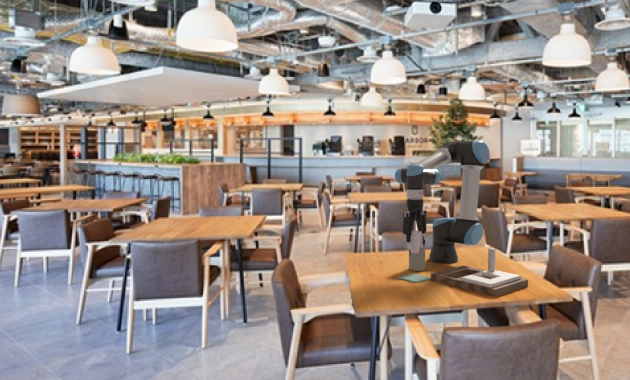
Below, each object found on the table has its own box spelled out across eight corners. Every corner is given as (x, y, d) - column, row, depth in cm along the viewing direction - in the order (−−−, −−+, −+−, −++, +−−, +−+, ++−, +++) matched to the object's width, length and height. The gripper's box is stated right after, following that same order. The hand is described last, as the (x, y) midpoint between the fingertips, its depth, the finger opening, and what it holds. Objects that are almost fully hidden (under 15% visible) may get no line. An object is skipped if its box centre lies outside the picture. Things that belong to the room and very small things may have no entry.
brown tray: (430, 279, 214) (430, 273, 214) (463, 271, 228) (463, 265, 228) (495, 296, 187) (495, 289, 187) (527, 286, 202) (528, 279, 202)
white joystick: (462, 280, 200) (462, 254, 200) (491, 272, 213) (492, 247, 213) (491, 287, 189) (491, 260, 188) (520, 278, 202) (521, 252, 201)
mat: (397, 278, 218) (397, 276, 217) (413, 274, 224) (413, 273, 224) (415, 283, 209) (415, 281, 209) (431, 279, 215) (431, 277, 215)
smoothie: (419, 250, 219) (420, 221, 218) (423, 253, 212) (423, 223, 211) (406, 250, 218) (406, 221, 217) (409, 253, 212) (409, 223, 211)
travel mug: (425, 268, 236) (425, 233, 235) (424, 271, 229) (425, 235, 227) (409, 267, 238) (409, 232, 237) (408, 271, 231) (408, 235, 229)
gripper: (406, 200, 205) (406, 252, 207) (435, 197, 216) (434, 246, 218) (394, 199, 211) (394, 249, 213) (422, 196, 222) (422, 244, 224)
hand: (414, 248), depth 215 cm, fingers closed on smoothie, 6 cm apart
